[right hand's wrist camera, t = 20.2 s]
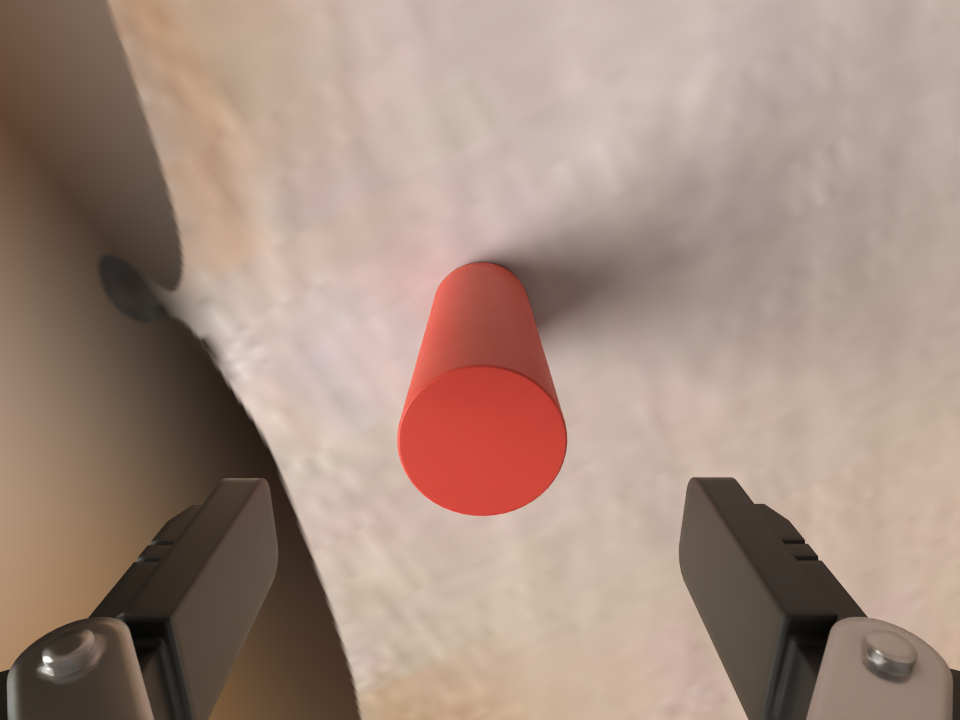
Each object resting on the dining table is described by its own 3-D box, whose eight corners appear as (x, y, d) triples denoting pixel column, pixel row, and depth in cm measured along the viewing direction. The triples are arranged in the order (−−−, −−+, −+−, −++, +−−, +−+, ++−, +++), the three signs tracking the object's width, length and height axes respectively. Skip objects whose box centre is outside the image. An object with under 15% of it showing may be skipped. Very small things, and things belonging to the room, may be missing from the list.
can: (498, 243, 25) (514, 333, 13) (546, 325, 26) (597, 470, 15) (415, 293, 25) (363, 418, 14) (465, 370, 27) (454, 542, 15)
